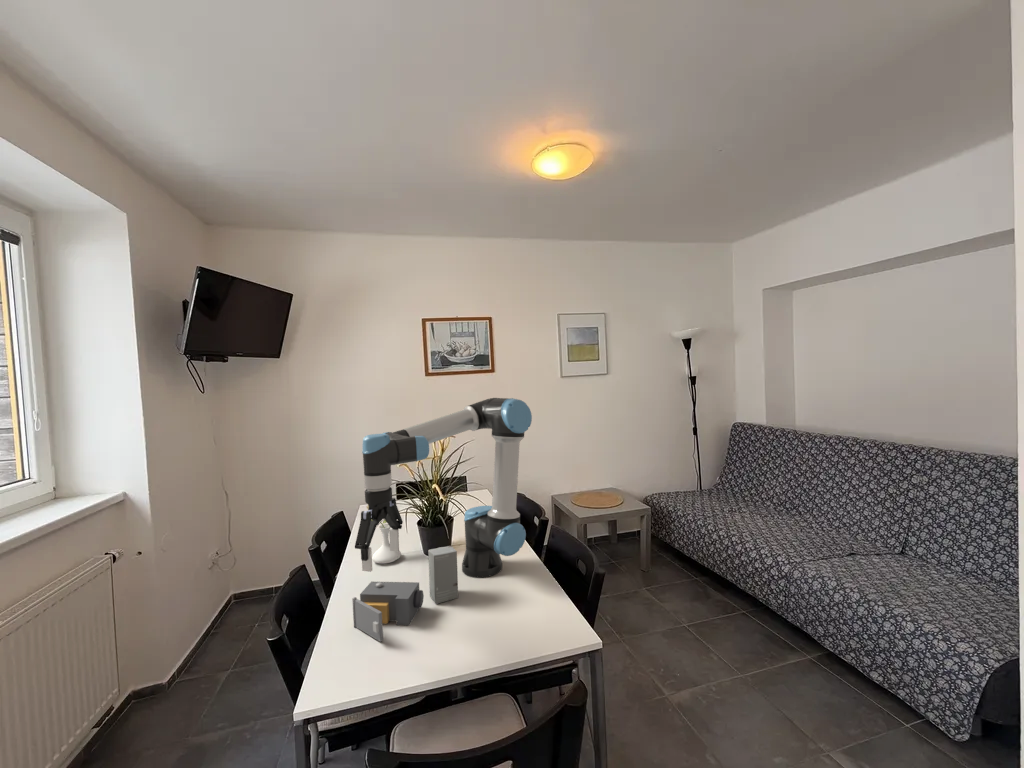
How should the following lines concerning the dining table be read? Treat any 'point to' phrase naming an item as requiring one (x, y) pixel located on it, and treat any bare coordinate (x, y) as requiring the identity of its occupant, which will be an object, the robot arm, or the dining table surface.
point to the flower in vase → (385, 547)
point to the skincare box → (443, 574)
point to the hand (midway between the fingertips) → (381, 560)
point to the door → (369, 620)
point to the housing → (393, 600)
